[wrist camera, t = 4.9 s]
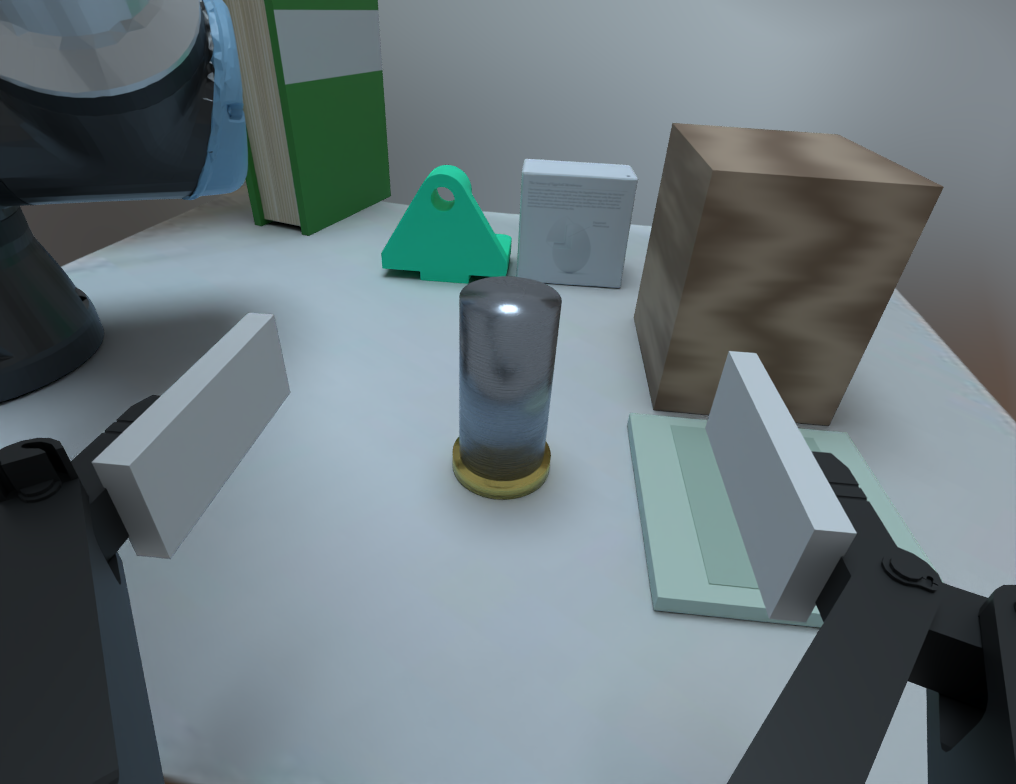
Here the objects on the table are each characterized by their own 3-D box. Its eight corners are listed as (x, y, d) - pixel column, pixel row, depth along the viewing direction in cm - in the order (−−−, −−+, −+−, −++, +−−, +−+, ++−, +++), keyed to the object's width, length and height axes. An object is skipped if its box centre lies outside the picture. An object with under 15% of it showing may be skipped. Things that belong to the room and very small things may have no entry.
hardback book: (308, 235, 63) (267, -32, 49) (255, 224, 65) (200, -36, 51) (390, 196, 77) (376, -23, 63) (344, 188, 79) (320, -26, 65)
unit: (653, 409, 39) (712, 170, 30) (633, 317, 51) (672, 122, 42) (837, 426, 39) (954, 187, 30) (775, 329, 50) (846, 135, 41)
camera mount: (510, 258, 61) (516, 158, 55) (505, 288, 55) (510, 179, 49) (401, 250, 62) (395, 150, 56) (383, 278, 55) (374, 169, 49)
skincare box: (614, 264, 61) (631, 162, 55) (620, 289, 56) (640, 179, 50) (517, 257, 61) (524, 155, 55) (514, 281, 56) (521, 171, 50)
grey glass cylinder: (445, 494, 32) (441, 319, 25) (460, 429, 36) (461, 269, 30) (547, 504, 32) (570, 330, 25) (550, 437, 36) (569, 278, 30)
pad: (653, 610, 26) (658, 596, 26) (627, 424, 38) (629, 412, 37) (962, 642, 26) (975, 628, 25) (840, 444, 37) (846, 431, 37)
